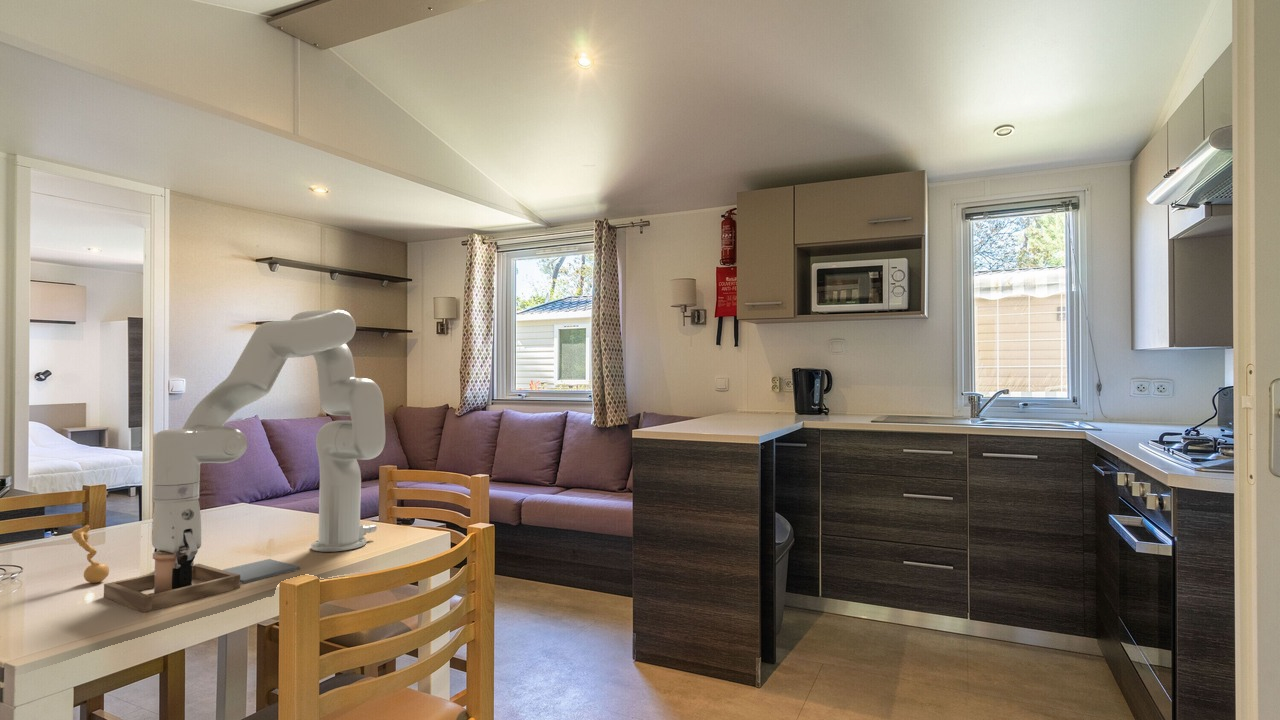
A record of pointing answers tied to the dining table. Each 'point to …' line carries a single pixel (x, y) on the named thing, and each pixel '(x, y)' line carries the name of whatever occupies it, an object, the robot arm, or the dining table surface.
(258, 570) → the grey mat
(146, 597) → the frame
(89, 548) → the figurine
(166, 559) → the terracotta pot
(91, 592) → the dining table surface
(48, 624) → the dining table surface
